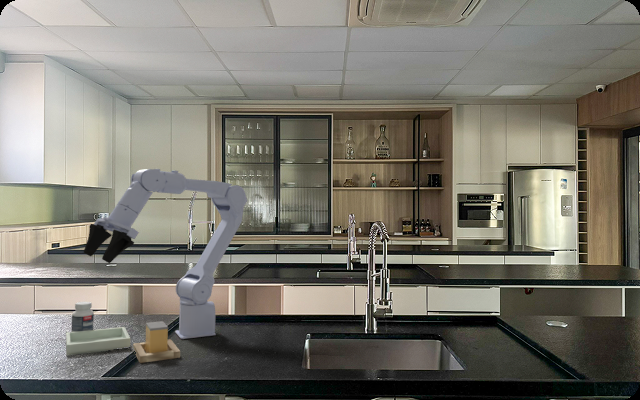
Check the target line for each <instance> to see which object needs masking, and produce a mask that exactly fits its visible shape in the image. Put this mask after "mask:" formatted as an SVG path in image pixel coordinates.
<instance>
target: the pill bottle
mask: <svg viewBox="0 0 640 400" xmlns="http://www.w3.org/2000/svg"><path fill="white" fill-rule="evenodd" d="M92 305H93V304H92V302H91V301H78V302H75V304H74V309H75V311H73V312H72V314H71V329H70V330H71V331H70V332H78V331H88V330H94V317H95V315H94V314H95V313H94V311H93V310H92Z"/></svg>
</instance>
